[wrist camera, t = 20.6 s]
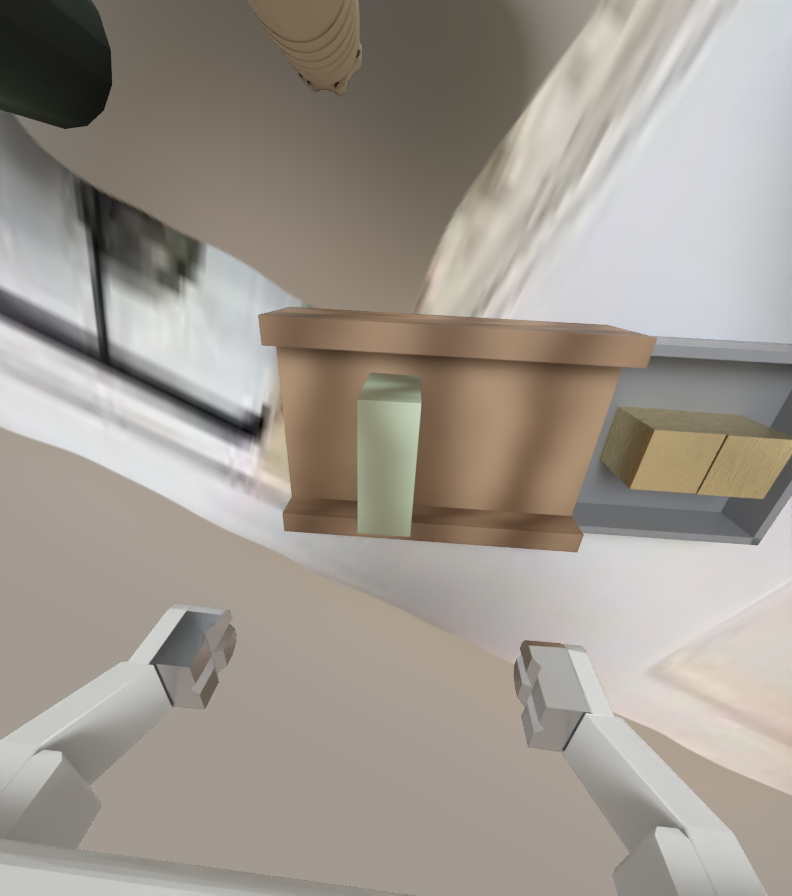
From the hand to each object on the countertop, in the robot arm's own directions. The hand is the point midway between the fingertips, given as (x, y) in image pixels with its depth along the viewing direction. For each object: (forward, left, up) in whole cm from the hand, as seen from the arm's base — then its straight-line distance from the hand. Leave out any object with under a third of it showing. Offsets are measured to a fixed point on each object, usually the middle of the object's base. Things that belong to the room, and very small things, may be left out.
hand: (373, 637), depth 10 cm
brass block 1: (-17, 0, -17) cm, 23 cm away
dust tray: (-19, 0, -17) cm, 26 cm away
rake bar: (0, 0, -14) cm, 14 cm away
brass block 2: (-19, 0, -15) cm, 24 cm away
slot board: (-3, 0, -17) cm, 17 cm away
